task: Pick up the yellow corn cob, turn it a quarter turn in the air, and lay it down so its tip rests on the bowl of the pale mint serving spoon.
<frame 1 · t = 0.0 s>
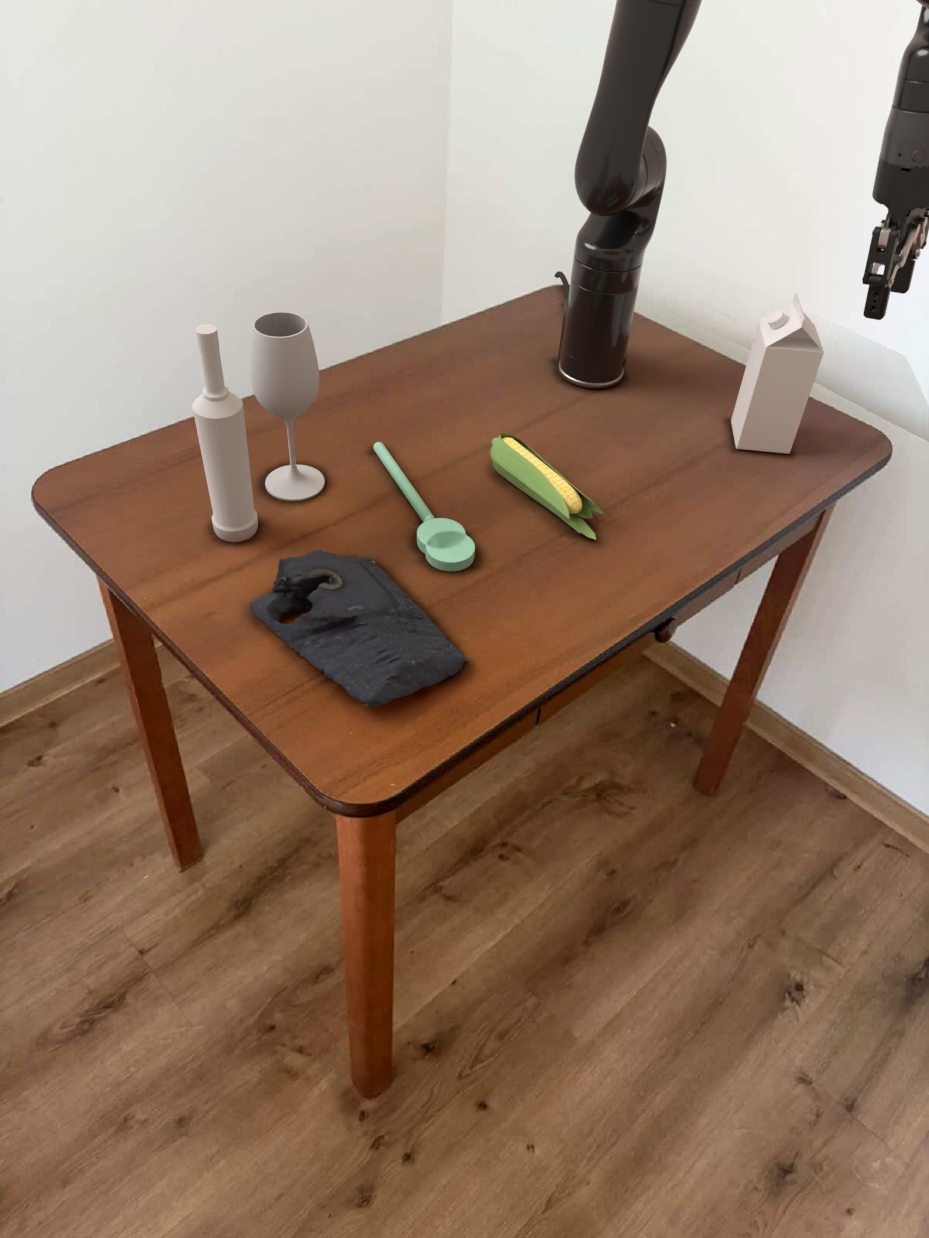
hand: (885, 304, 111), 22 cm above the table, tool pointing down, fingers open, 8 cm apart
wineglass: (295, 484, 118), on the table
bottle: (236, 530, 111), on the table
milk carton: (759, 439, 130), on the table
edible corn: (542, 499, 118), on the table
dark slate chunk: (357, 637, 100), on the table
spoon: (430, 527, 113), on the table
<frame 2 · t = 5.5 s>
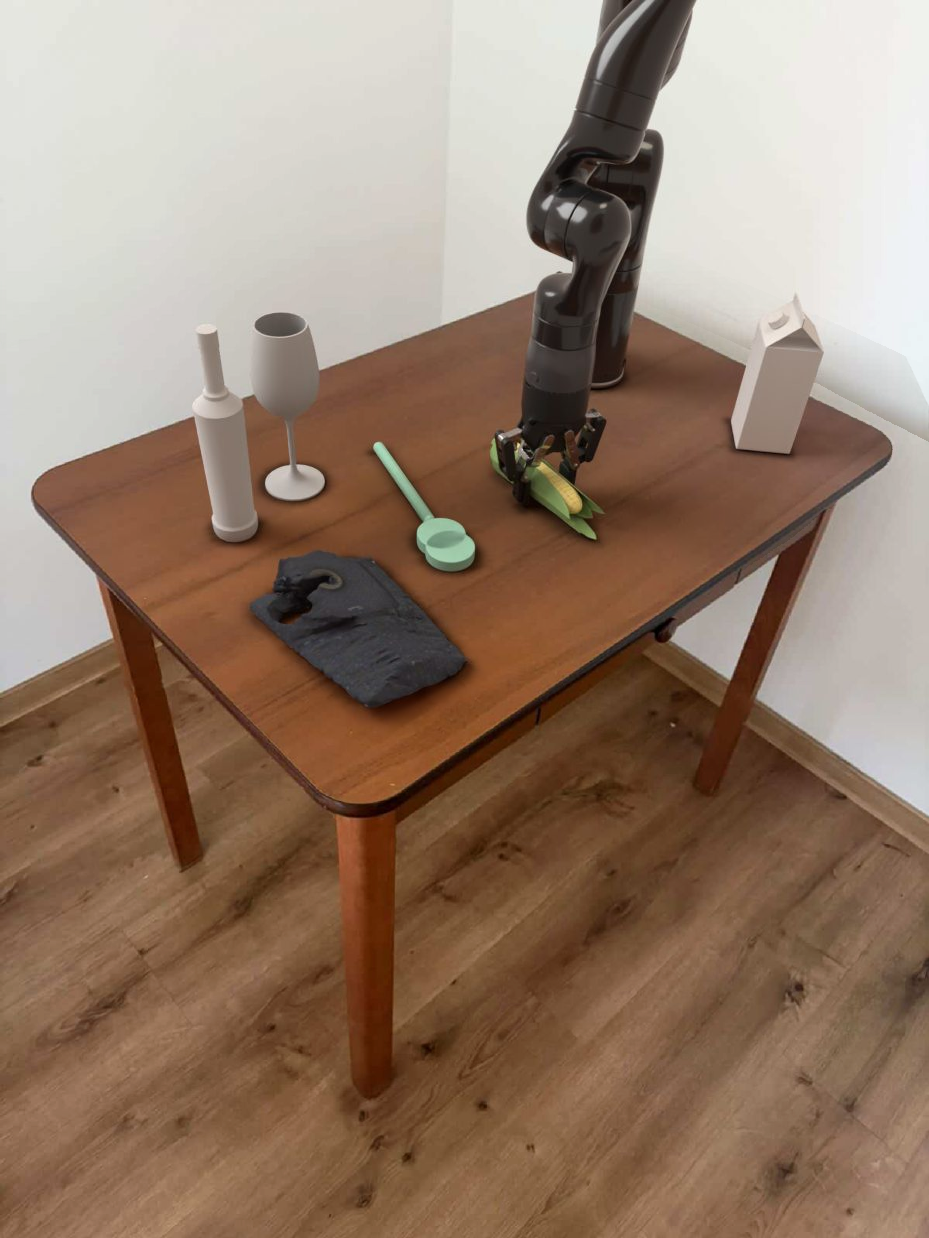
hand: (542, 495, 118), 0 cm above the table, tool pointing down, fingers closed on edible corn, 5 cm apart
edible corn: (542, 499, 118), on the table, touching gripper
everything else where it was.
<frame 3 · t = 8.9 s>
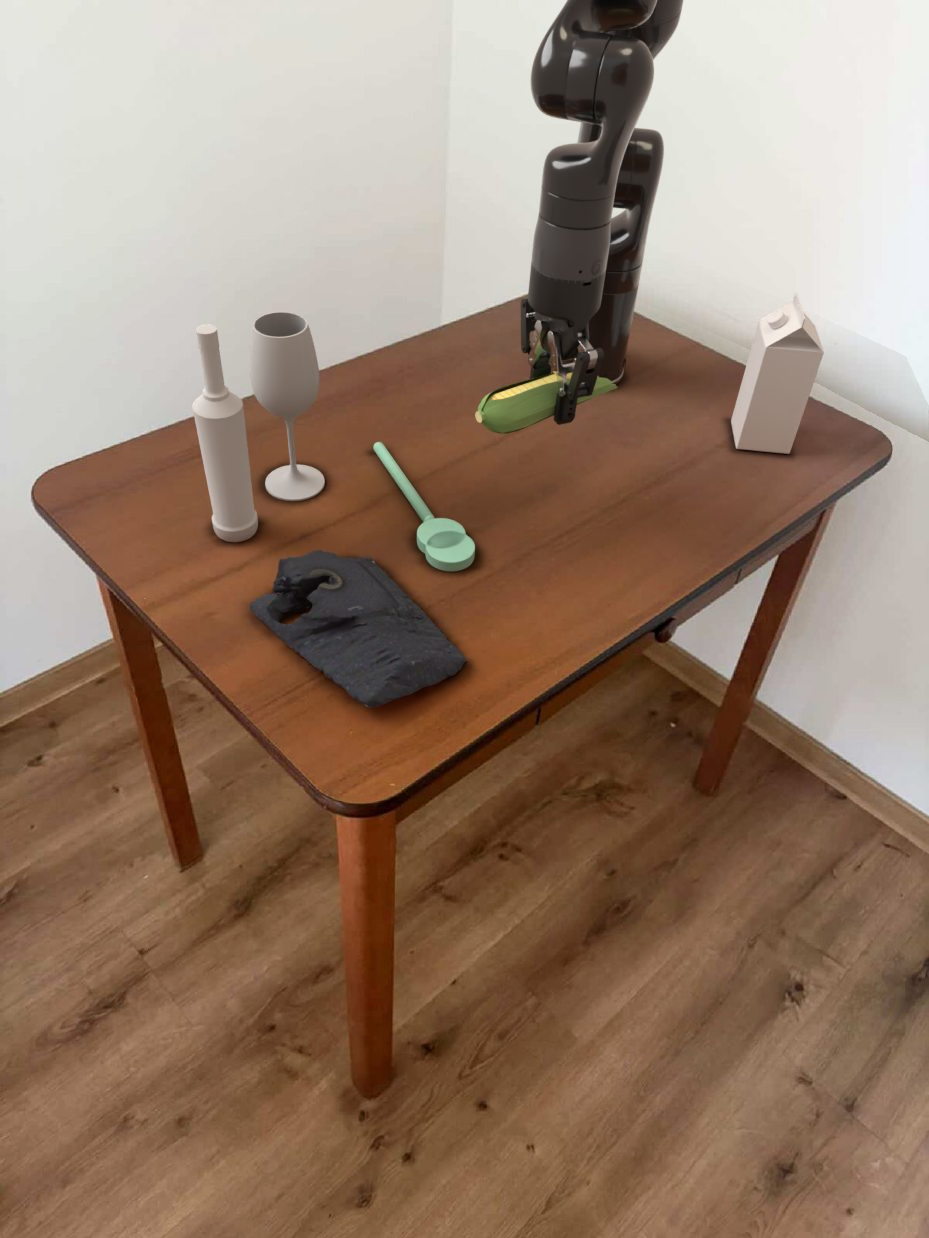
hand: (550, 408, 108), 14 cm above the table, tool pointing down, fingers closed on edible corn, 5 cm apart
edible corn: (548, 413, 108), point 13 cm above the table, touching gripper
everything else where it was.
when the fingers open (2 cm above the table, at t = 12.4 s): edible corn stays where it is, resting on spoon.
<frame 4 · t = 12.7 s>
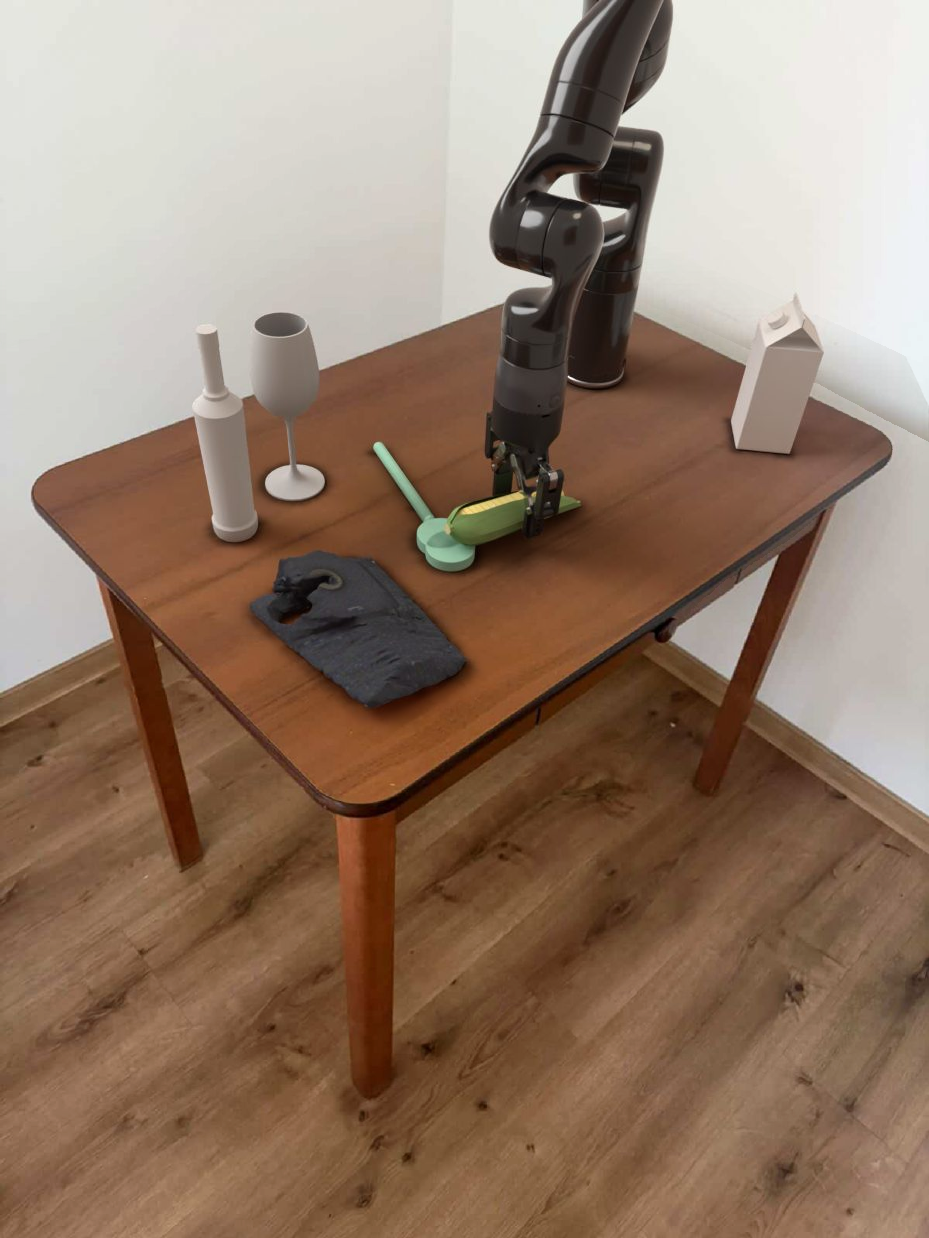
hand: (516, 515, 112), 2 cm above the table, tool pointing down, fingers open, 7 cm apart
edible corn: (514, 526, 113), point 1 cm above the table, touching spoon
everything else where it was.
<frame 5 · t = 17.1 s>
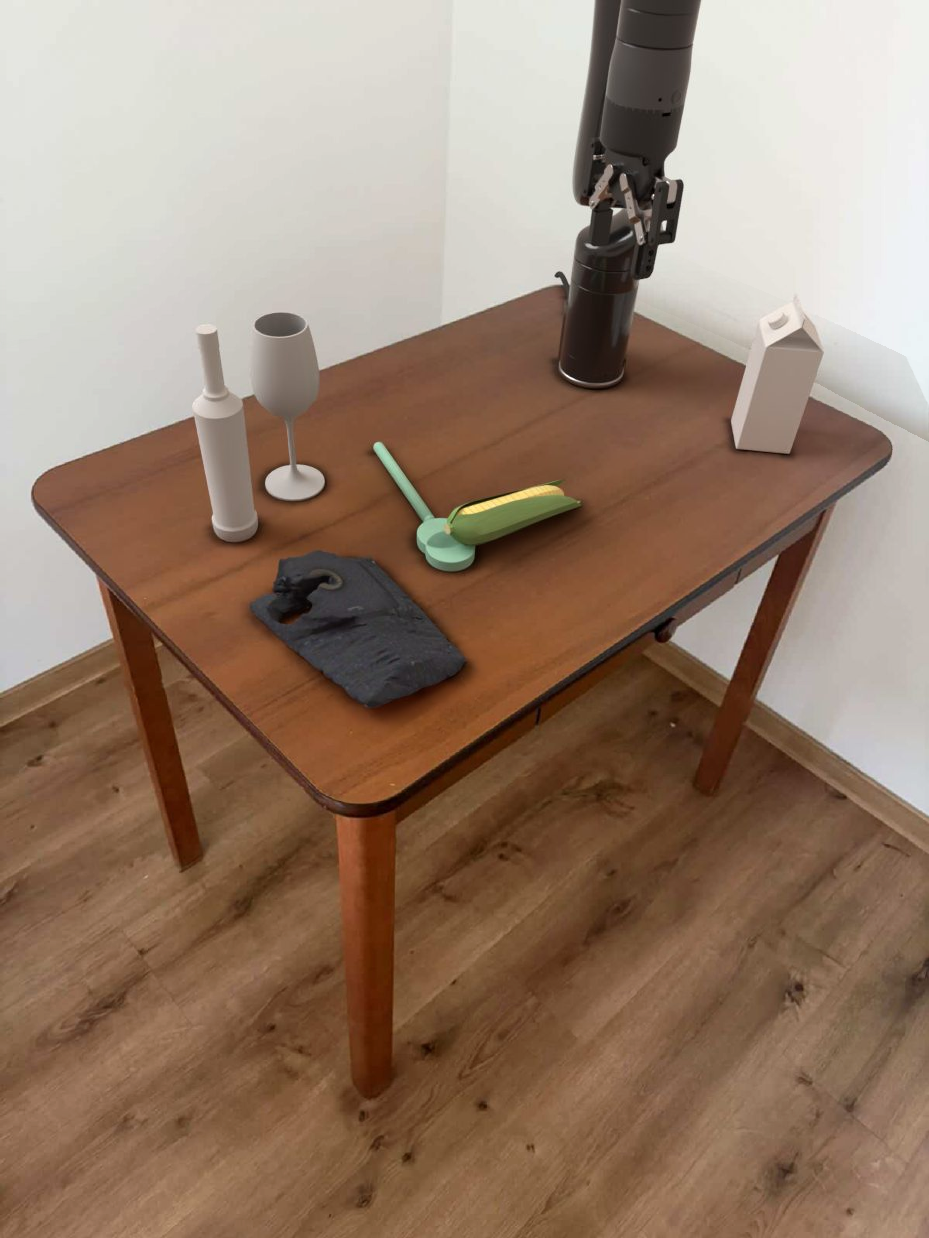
hand: (618, 261, 102), 28 cm above the table, tool pointing down, fingers open, 8 cm apart
nothing on the table moved.
at the end: edible corn touching spoon, table; edible corn 0.1 cm from the target spot, point 0.7 cm above the table; the gripper is holding nothing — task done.
